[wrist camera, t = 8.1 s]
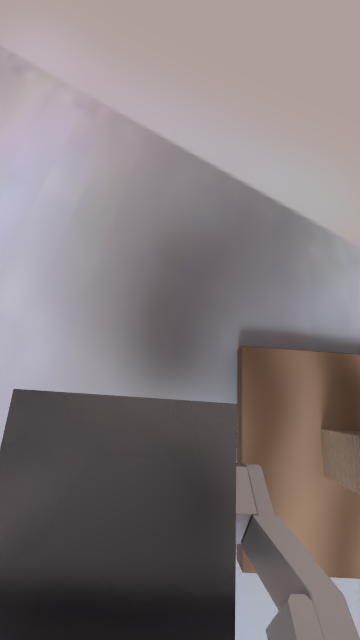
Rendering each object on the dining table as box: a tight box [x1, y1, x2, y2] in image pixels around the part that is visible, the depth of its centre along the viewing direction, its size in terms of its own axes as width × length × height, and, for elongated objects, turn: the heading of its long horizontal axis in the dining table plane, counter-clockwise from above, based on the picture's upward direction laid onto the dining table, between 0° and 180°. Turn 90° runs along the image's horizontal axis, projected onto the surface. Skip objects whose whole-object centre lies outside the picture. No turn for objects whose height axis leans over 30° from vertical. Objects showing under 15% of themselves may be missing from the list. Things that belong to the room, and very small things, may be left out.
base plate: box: [237, 346, 360, 579], centre depth 20 cm, size 14×14×2 cm
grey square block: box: [0, 389, 237, 640], centre depth 10 cm, size 6×6×8 cm
